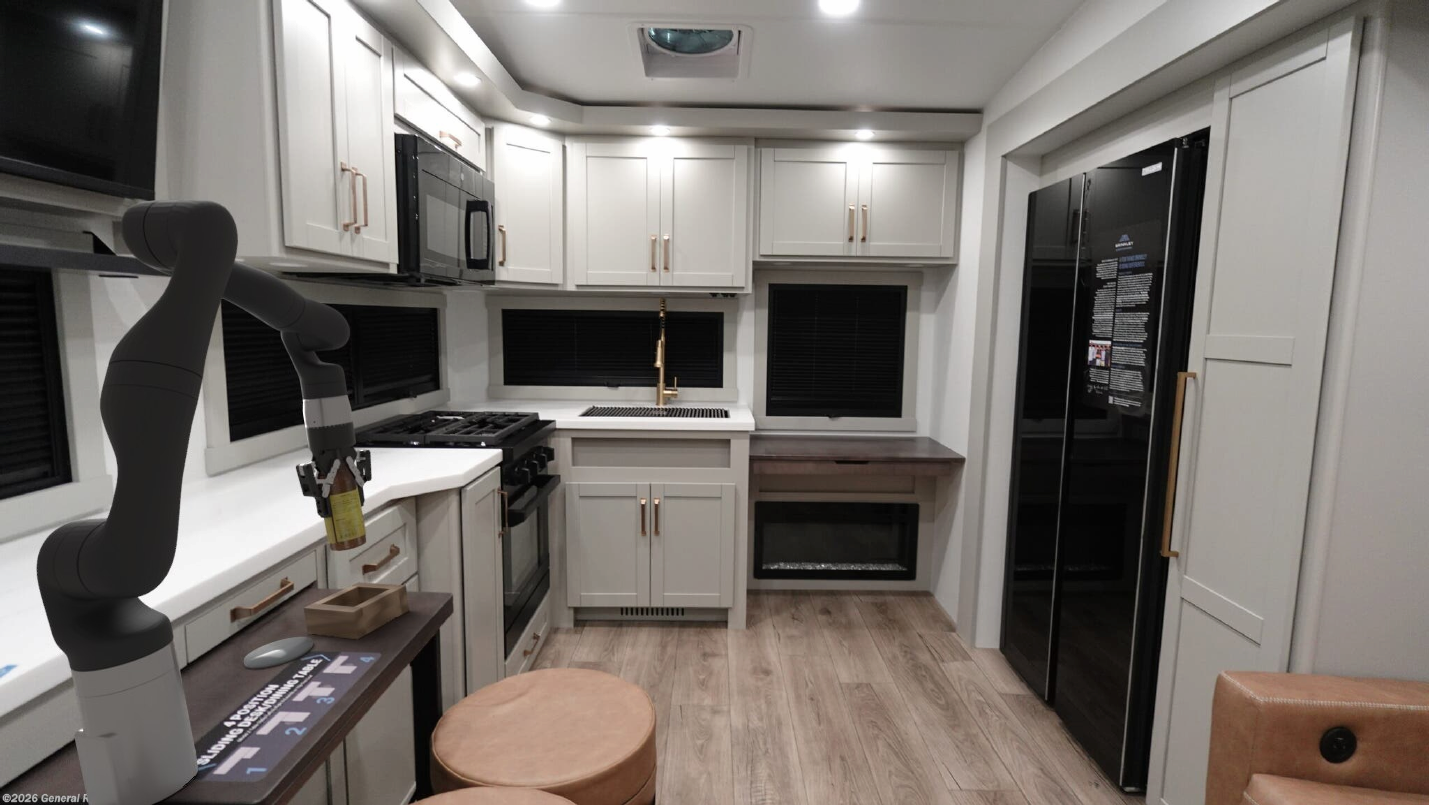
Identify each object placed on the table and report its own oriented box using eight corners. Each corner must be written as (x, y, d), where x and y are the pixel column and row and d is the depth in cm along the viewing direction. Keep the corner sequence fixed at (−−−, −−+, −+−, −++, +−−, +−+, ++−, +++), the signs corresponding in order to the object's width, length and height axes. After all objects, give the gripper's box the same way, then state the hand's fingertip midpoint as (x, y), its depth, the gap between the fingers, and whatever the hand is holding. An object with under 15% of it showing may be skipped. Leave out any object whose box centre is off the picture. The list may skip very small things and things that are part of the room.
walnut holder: (357, 639, 118) (353, 612, 117) (307, 634, 122) (303, 608, 121) (409, 610, 129) (405, 585, 128) (362, 606, 133) (358, 582, 132)
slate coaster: (272, 671, 108) (271, 668, 108) (229, 665, 112) (229, 662, 112) (326, 642, 118) (326, 639, 117) (285, 638, 121) (285, 634, 121)
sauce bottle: (374, 540, 126) (359, 437, 124) (353, 551, 120) (337, 442, 118) (342, 542, 127) (326, 439, 125) (319, 553, 121) (303, 445, 119)
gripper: (308, 428, 113) (323, 524, 115) (377, 415, 126) (389, 501, 128) (276, 429, 116) (291, 523, 117) (347, 416, 129) (360, 501, 131)
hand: (342, 511), depth 123 cm, fingers closed on sauce bottle, 6 cm apart
